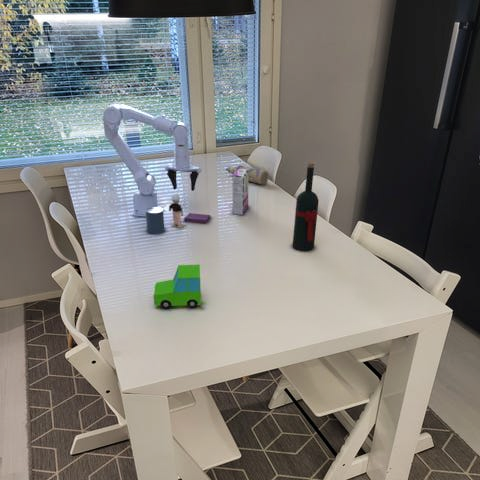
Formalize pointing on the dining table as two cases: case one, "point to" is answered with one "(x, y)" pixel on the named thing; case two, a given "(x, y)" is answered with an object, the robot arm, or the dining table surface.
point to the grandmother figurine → (176, 211)
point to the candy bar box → (240, 191)
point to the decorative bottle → (252, 174)
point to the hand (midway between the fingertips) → (184, 189)
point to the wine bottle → (306, 215)
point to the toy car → (180, 288)
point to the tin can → (155, 220)
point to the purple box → (197, 218)
